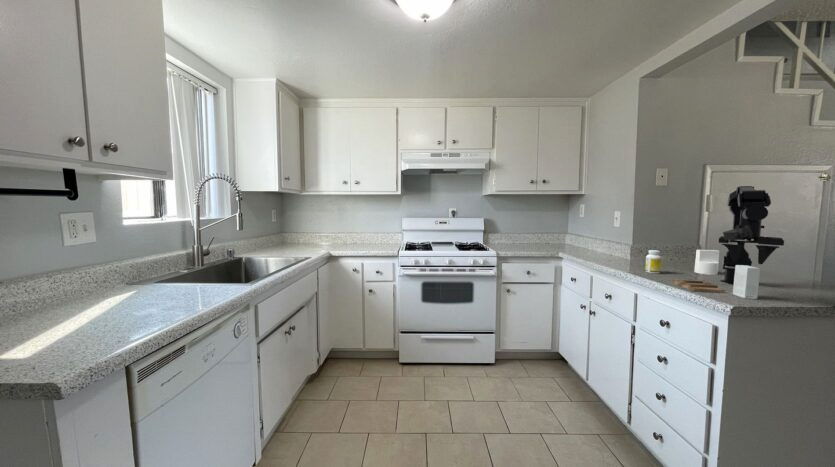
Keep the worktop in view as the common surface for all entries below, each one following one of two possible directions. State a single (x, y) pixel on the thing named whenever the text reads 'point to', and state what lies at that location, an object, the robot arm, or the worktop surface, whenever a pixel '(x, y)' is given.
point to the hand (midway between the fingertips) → (747, 263)
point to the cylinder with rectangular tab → (707, 262)
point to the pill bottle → (653, 262)
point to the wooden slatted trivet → (699, 286)
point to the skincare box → (746, 281)
